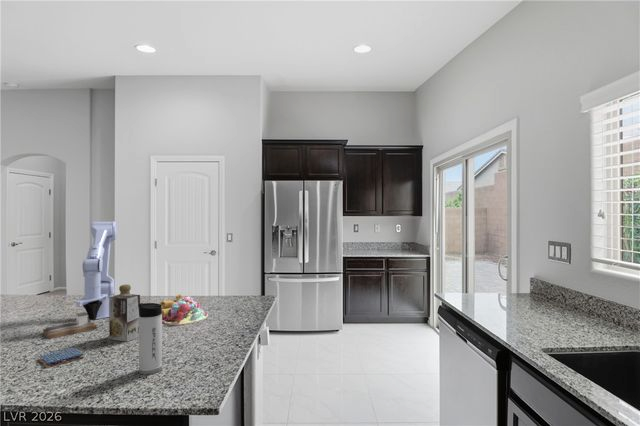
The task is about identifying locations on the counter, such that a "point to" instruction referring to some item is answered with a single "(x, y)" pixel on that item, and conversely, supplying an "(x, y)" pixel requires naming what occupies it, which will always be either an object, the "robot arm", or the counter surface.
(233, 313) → the counter surface
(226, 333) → the counter surface
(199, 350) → the counter surface
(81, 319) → the fader knob
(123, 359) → the counter surface
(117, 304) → the coffee box
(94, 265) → the robot arm
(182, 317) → the candy landscape model
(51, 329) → the fader board
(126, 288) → the cork
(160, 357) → the travel mug
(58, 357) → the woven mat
